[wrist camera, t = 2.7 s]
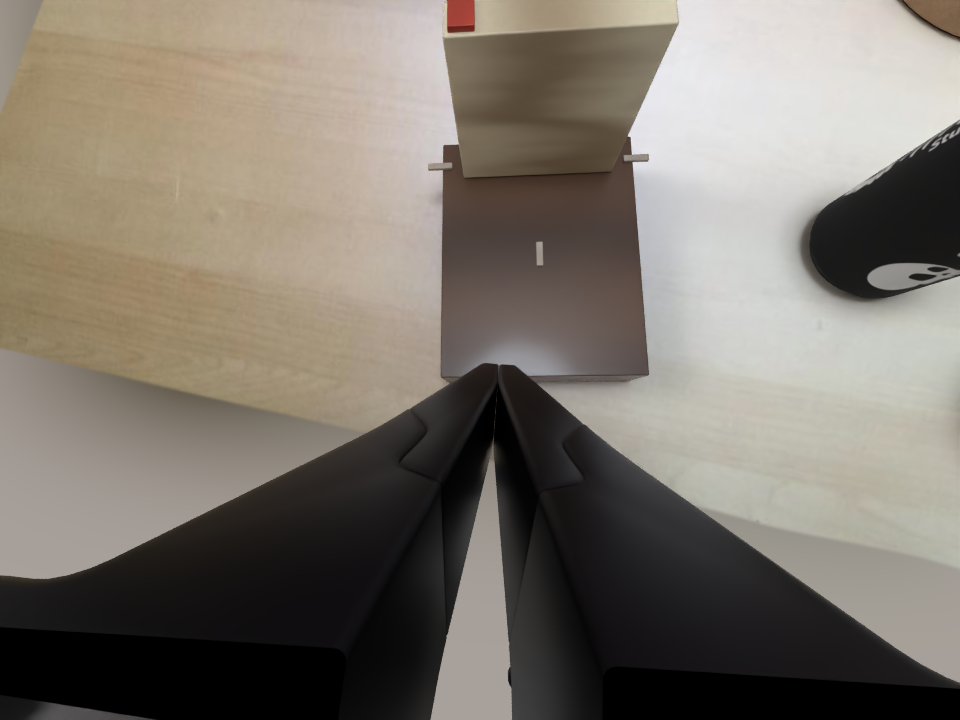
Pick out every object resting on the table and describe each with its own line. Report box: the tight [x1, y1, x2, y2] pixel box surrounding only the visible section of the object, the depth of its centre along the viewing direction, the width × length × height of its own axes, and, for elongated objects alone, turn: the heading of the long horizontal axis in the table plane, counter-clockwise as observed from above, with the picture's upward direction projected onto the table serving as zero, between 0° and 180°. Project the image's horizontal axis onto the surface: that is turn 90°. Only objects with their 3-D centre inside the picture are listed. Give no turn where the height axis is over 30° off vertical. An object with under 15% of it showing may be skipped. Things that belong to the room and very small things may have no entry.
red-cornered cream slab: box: [443, 0, 679, 178], centre depth 17 cm, size 8×2×8 cm, turn 90°
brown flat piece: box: [428, 137, 649, 383], centre depth 22 cm, size 19×13×3 cm
